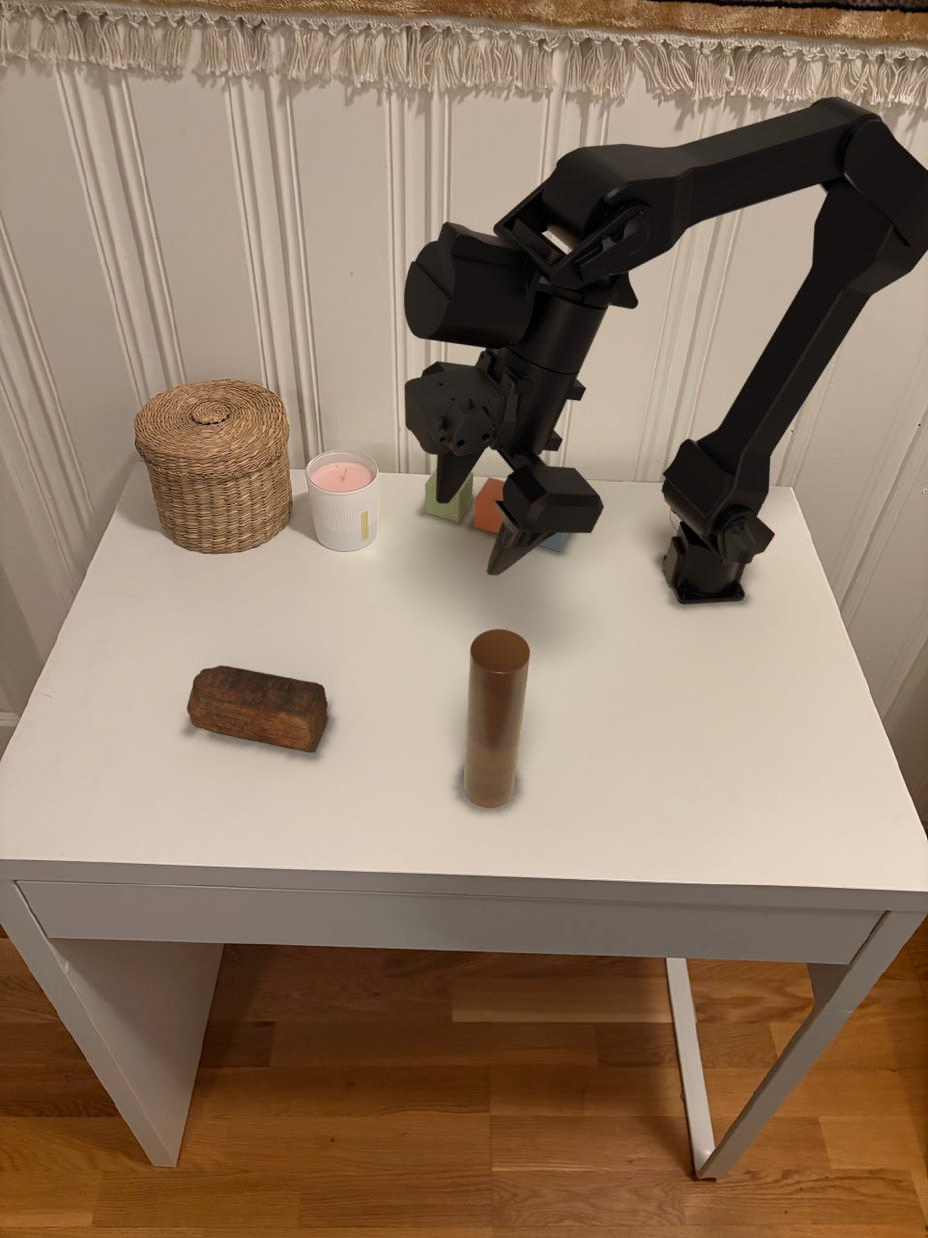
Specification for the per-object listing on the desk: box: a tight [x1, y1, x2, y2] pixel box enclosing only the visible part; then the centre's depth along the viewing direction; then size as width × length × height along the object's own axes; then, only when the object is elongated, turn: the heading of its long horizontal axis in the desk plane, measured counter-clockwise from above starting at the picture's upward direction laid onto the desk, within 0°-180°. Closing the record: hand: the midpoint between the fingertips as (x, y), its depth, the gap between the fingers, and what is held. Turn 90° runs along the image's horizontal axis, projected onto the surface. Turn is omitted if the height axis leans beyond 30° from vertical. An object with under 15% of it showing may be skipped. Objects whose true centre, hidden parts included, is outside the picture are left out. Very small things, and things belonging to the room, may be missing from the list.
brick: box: [186, 665, 329, 752], centre depth 75 cm, size 11×4×5 cm, turn 77°
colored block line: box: [424, 467, 570, 552], centre depth 95 cm, size 15×4×4 cm, turn 67°
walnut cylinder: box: [463, 628, 531, 809], centre depth 68 cm, size 4×4×16 cm
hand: (466, 536), depth 72 cm, fingers open, 9 cm apart
